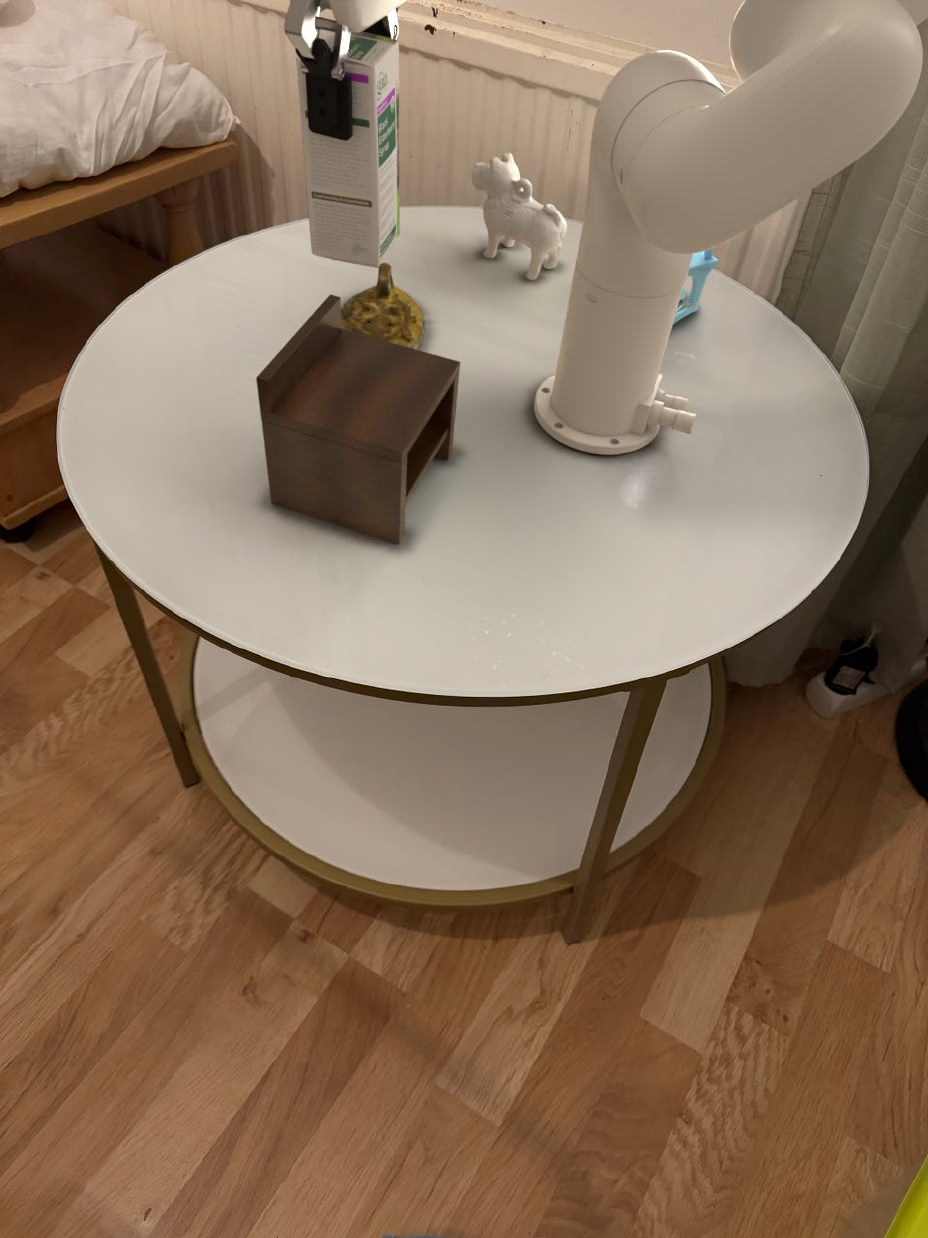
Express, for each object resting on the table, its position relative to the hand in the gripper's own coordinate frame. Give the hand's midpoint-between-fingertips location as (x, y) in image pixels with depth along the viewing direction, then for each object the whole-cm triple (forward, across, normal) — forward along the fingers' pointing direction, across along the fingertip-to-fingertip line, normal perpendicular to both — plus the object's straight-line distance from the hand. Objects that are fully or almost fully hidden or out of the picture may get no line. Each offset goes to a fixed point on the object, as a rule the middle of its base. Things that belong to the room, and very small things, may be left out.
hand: (353, 114), depth 65 cm
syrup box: (+10, 0, 0) cm, 10 cm away
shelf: (+27, -7, -4) cm, 29 cm away
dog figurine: (+28, +36, -2) cm, 45 cm away
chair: (+28, +34, -22) cm, 49 cm away
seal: (+28, +14, +5) cm, 32 cm away
